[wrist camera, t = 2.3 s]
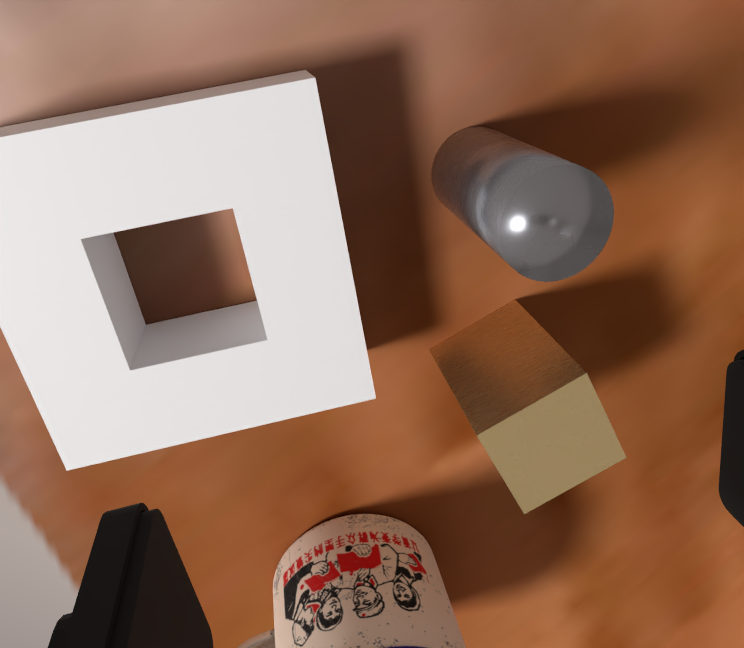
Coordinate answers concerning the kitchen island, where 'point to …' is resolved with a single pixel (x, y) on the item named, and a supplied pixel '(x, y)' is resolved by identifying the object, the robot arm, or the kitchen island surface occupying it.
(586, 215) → the round bit
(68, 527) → the kitchen island surface
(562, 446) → the square bit
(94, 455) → the block
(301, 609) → the teacup with lid
